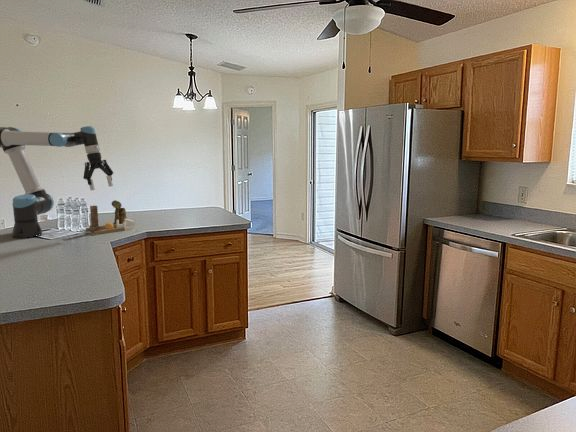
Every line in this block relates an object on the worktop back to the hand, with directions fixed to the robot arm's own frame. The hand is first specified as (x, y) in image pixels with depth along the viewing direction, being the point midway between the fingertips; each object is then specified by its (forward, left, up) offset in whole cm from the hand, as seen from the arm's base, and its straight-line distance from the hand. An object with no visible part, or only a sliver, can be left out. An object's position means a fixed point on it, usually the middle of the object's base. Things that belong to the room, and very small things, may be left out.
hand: (102, 188), depth 264 cm
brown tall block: (-7, -3, -26) cm, 27 cm away
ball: (+2, -3, -23) cm, 23 cm away
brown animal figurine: (+15, +13, -27) cm, 34 cm away
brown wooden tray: (+3, -3, -27) cm, 27 cm away
